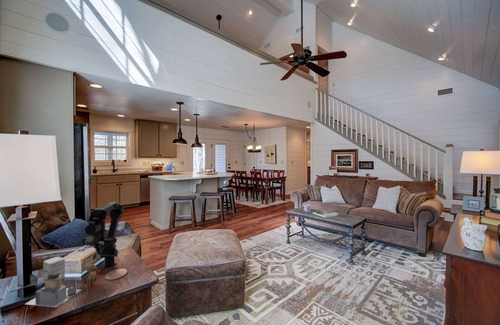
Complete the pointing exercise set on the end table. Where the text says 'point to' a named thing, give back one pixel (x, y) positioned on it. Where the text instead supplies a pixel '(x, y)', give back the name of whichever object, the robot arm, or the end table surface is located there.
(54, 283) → the knob
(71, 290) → the potentiometer
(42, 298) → the mount
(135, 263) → the end table surface
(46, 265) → the supplement box
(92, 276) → the lion figurine
